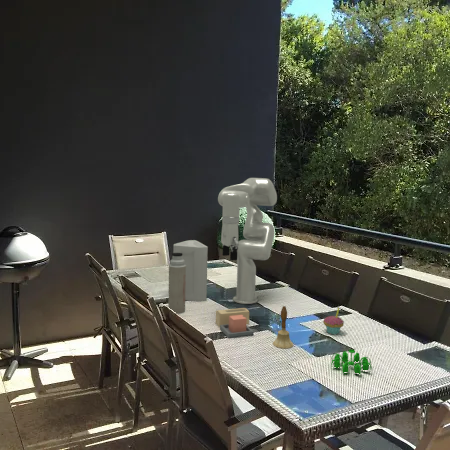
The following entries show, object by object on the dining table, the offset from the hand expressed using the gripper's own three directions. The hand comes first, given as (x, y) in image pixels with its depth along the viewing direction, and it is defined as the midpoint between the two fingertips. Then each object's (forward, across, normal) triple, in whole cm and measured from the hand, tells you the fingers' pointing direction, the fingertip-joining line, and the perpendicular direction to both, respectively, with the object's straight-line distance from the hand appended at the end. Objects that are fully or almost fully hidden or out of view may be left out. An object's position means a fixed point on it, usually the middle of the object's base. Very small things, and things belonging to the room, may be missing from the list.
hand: (229, 257), depth 229 cm
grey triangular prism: (+28, -36, -9) cm, 47 cm away
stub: (+28, +18, -2) cm, 33 cm away
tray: (+28, +18, -3) cm, 34 cm away
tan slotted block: (+28, +8, -1) cm, 29 cm away
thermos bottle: (+28, -16, -20) cm, 38 cm away
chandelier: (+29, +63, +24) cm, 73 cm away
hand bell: (+29, +36, +10) cm, 47 cm away
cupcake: (+28, +30, +37) cm, 56 cm away
